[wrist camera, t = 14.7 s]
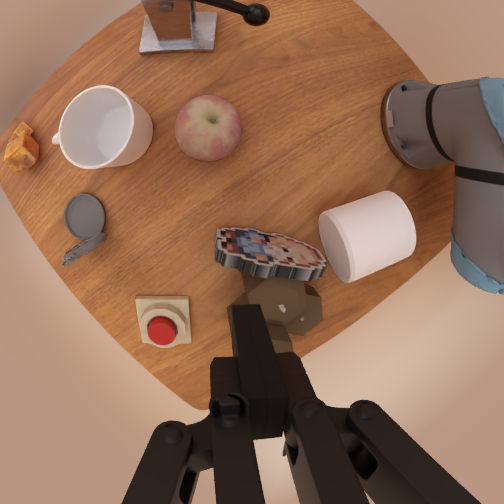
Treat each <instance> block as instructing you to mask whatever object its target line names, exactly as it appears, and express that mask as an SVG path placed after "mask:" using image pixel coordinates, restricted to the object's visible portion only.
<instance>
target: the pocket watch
mask: <svg viewBox="0 0 504 504" xmlns="http://www.w3.org/2000/svg"><path fill="white" fill-rule="evenodd" d="M64 219H65V224H66V226H67V229H68V230H69V232H70V233H71V234H72V235H73V236H74V237H76V238H77V239H80V240H85V241H83V242H81V243H80V244H78V245H76V246H75V247H73V248H72V249H70V250H69V251H68V252H67V253H66V254H65V255H64V260H65V261H64V262H63V264H62V267H66V266H68V265H70V264H72V263H73V262H74V261H75V260H76V259H78V258H80V257H81V256H83V255H85V254H87V253H88V252H90V251H92V250H93V249H95V248H96V247H98V246H99V245H101V244H102V243H103V242H105V241H106V240H107V236H106V234H105V233H100V232H101V231H102V229H103V227H104V223H105V212H104V209H103V206H102V204H101V203H100V201H99V200H98V199H97V198H96V197H94V196H93V195H91V194H87V193H81V194H78V195H76V196H74V197H73V198H71V199H70V200H69V202H68V203H67V205H66V208H65V213H64ZM66 262H67V263H68V262H70V263H68V264H66V265H64V264H65V263H66Z"/></svg>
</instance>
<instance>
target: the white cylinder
mask: <svg viewBox="0 0 504 504" xmlns="http://www.w3.org/2000/svg"><path fill="white" fill-rule="evenodd" d="M318 226H319V233H320V238H321V242H322V245H323V248H324V251H325V254H326V256H327V259H328V261H329V263H330V265H331V267H332V269H333V271H334V272H335V274H336V275H337V276H338V278H339V279H340V280H341V281H343V282H345V283H351V282H353V281H355V280H358V279H360V278H362V277H365V276H367V275H369V274H371V273H374V272H376V271H378V270H381V269H383V268H385V267H387V266H389V265H392V264H394V263H396V262H398V261H400V260H402V259H405V258H407V257H409V256H410V255H411V254H412V253H413V251H414V249H415V245H416V231H415V225H414V222H413V219H412V216H411V213H410V212H409V210H408V208H407V206H406V204H405V203H404V202H403V201H402V199H401V198H400V197H399V196H398V195H396V194H395V193H393V192H391V191H382V192H379V193H376V194H373V195H370V196H367V197H364V198H361V199H359V200H356V201H353V202H350V203H347V204H344V205H341V206H338V207H335V208H332V209H329V210H326V211H324V212H322V213H321V214H320V216H319V219H318Z"/></svg>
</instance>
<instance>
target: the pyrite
mask: <svg viewBox="0 0 504 504" xmlns="http://www.w3.org/2000/svg"><path fill="white" fill-rule="evenodd" d="M32 132H33V130H32V129H31V128H30V127H29V126H28V125H27V124H26V123H24V122H23V121H22V122H21V123H20V125H19V126H18V127H17V129H16V130H15V132H14V133H13V135H12V136H11V138H10V139H9V142H10V143H9V144H8V145H7V146H6V151H5V156H4V162H5V163H6V164H7V165H8V166H9V167H10V168H12V169H13V170H14V171H15V172H16V173H17V174H18V175H21V174H23V173H24V172H25V171H26V170H27V169H29V168H30V167H31V166H32V165H34V164H35V163H36V160H37V159H38V155H39V145H38V144H37V142H36V141H35V140H34V139H33V138H32V137H31V136H30V135H31V134H32Z"/></svg>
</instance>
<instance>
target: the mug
mask: <svg viewBox="0 0 504 504" xmlns="http://www.w3.org/2000/svg"><path fill="white" fill-rule="evenodd" d="M152 136H153V125H152V121H151V118H150V116H149V114H148V113H147V111H146V110H145V109H144V108H143V107H141V106H140V105H139V104H138V103H136V102H135V101H134V100H132V99H131V98H130V97H129V96H127V95H126V94H125V93H123V92H122V91H121V90H119V89H117V88H115V87H112V86H107V85H100V86H95V87H91V88H89V89H86V90H85V91H83V92H81V93H80V94H79V95H77V96H76V97H75V98H74V99H73V100H72V101H71V102H70V104H69V105H68V106H67V108H66V110H65V111H64V113H63V116H62V118H61V121H60V126H59V132H58V133H56V134H55V135H54V137H53V138H52V143H53V144H60V147H61V149H62V152H63V154H64V155H65V157H66V158H67V159H68V160H69V161H70V162H71V163H72V164H74V165H75V166H77V167H80V168H83V169H98V168H107V167H116V166H124V165H127V164H130V163H133V162H135V161H136V160H138V159H139V158H140V157H141V156H142V155H143V154H144V153H145V152H146V150H147V149H148V147H149V145H150V143H151V140H152Z"/></svg>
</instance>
